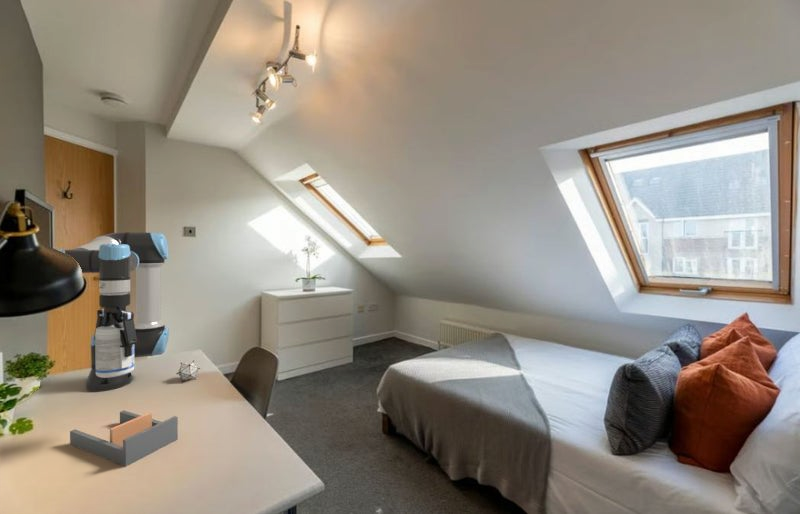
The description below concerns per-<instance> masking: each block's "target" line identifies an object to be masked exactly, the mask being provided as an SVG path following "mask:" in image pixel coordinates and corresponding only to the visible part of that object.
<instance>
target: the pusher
mask: <svg viewBox="0 0 800 514" xmlns="http://www.w3.org/2000/svg"><path fill="white" fill-rule="evenodd" d="M152 419H153V413H152V412H146V413H145V414H142V415H141V416H140V417H137V418H135V419H132V420H130V421H128V422H125V423H123V424H120V423H119V425H115V426H113V427H111V428H109V442H111V443H114V444H117V445H120V446H122V447H123V440H124V439H126V438H128V437H130V436H133V435H135V434H137V433H139V432H141V431H143V430H146V429H148V428H150V427H152Z"/></svg>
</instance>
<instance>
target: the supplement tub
mask: <svg viewBox="0 0 800 514" xmlns="http://www.w3.org/2000/svg"><path fill="white" fill-rule="evenodd" d="M95 329H96V333H95V332H94V334H95V362H96V375H97V376H98V377H101V378H108V377H116V376H121V375H124V374H127V373H130V372H131V373H132V372H133V371H134V369H135V365H136V364H135V362H136V361H135V358H134V344H133V345H132V366H129V367H126V368H121V362H120V346H121V345H122V343H121V340H120V330H124V328H120V329H119V328H116V327H114V325H113V326H107V327H103V326H102V327H98V328H96V327H95Z"/></svg>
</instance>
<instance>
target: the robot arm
mask: <svg viewBox="0 0 800 514" xmlns="http://www.w3.org/2000/svg"><path fill="white" fill-rule="evenodd" d="M57 250H58V251H61V252H63V253H66V254H68V255H70V256H71V257H73V258H74V259H75V260H76V261H77V262H78V263H79V265H80V267H81V269H82V273H81V274H87V273H89V274H92V273H93V274H94V273H95V274H99V275H98V276H99V277H98V280H99V284H98V288H99V289H98V290H99V294H100V295H99V296H98V298H99V300H98V301H99V304H98V306H99V307H100V308H103V309H97V311H96V315H97V316H96V317H97V318H96V323H95V324H96V325H95V331H94V334H93V335H92V336H91V339H90V345H89V346H90V363H91V364H90V366H91V367H90V368H91V369H90V372H89V375H88V376H87V379H86V382H85V390H86V391H88V392H104V391H105V392H106V391H110V390H115V389H118V388H122V387H124V386H127V385H129V384H130V383H132V381H133V374H132V372H130V373H127V374H124V375H121V376H116V377H108V378H101V377H98V376H97V375H96V362H95V333H96V328H98V327H102V326H103V327H107V326H113V325H114V327H116V328H119V329H120V328H124V330H120V340H121V343H122V345H121V346H120V362H121V368H126V367H129V366H132V345H133V344H134V359H135V358H144V357H153V356H159V355H163V354H164V353H165V352H166V349H167V346H168V342H169V335H170V329H169V328H168V327H165V326H166V325H165V322H164V321H162V319H161V312H162V311H161V308H162V307H161V304H162V303H161V301H162V300H161V267H162V266H164V264H165V260H168V259H169V256H170V255H169V246H168V241H167V238H166V236H165V235H164V234H163V233H159V232H152V231H151V232H140V231H139V232H135V231H134V232H131V231H129V232H128V231H119V232H118V231H117V232H113V233H108V234H103V235H100V236H97V237H95V238H93V239H92V240H91V241H90V242H88V243H86V244H83V245H79V246H77V247H75V248H72V249H64V248H63V249H57ZM134 270H136V271H135V273H136V275H135V276H136V278H135V280H136V281H135V282H136V292H135V293H136V323H135V321H134V318H135V314H134V311H129V312H128V311H127V308H126V307H127V306H130V305H131V294H130V293H129V292H131V272H132V271H134Z"/></svg>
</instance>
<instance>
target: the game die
mask: <svg viewBox="0 0 800 514" xmlns="http://www.w3.org/2000/svg"><path fill="white" fill-rule="evenodd" d="M199 370H201V368H200V367H198V366H197V365H196V364H195V360H192V361H191V362H184V363H183V362H180V367H179V370H178V372H176V373H175V374H176V375H178V376H179V377H180V379H182V380H181V382H182V383H183V382H184V381H187V380H191V379H194V380H197V373H198V371H199Z"/></svg>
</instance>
